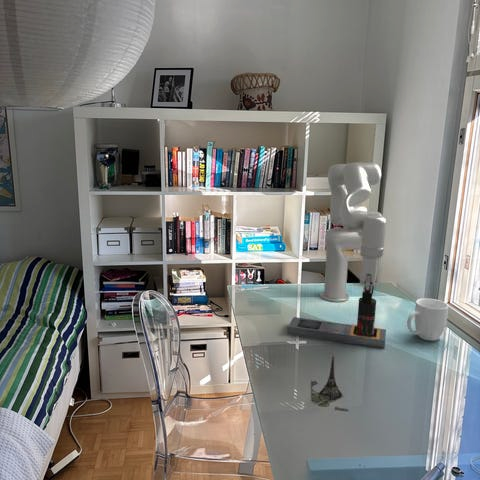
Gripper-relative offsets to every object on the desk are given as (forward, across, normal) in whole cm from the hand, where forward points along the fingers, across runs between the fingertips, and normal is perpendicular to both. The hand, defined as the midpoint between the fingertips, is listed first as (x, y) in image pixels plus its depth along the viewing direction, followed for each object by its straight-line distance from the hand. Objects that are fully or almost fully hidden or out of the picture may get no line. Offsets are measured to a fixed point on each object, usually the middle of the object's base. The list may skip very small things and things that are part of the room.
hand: (367, 298), depth 170 cm
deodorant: (+16, +1, 0) cm, 16 cm away
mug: (+16, -9, +21) cm, 28 cm away
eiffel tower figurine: (+15, +43, -7) cm, 46 cm away
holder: (+16, +1, -10) cm, 18 cm away
